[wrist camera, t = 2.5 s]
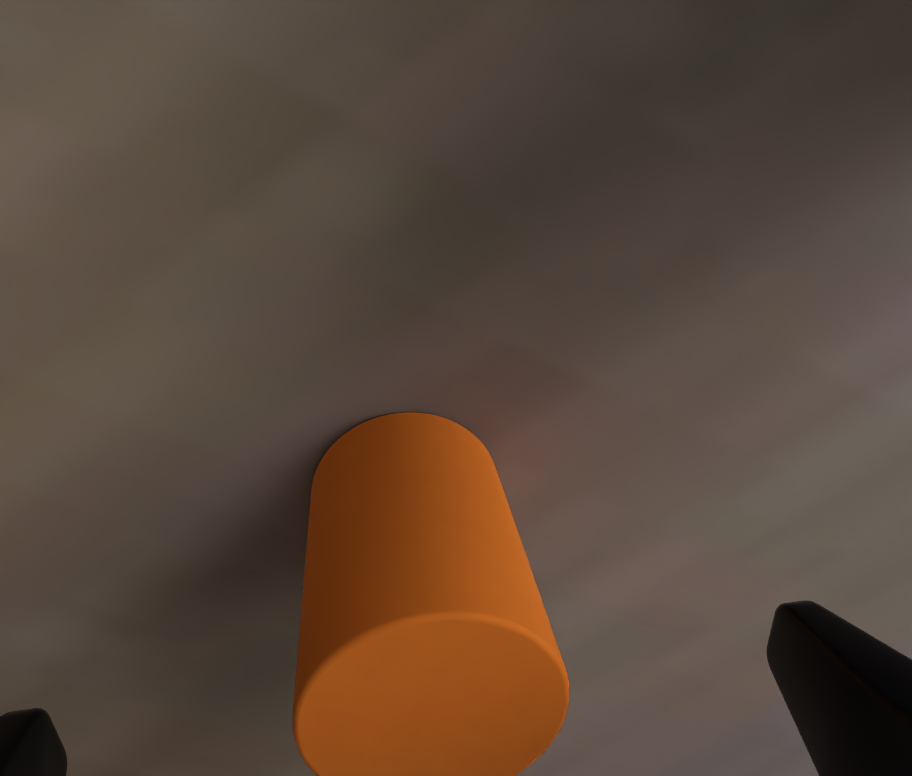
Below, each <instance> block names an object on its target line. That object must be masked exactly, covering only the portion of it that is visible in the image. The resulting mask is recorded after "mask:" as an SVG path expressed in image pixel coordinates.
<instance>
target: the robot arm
mask: <svg viewBox="0 0 912 776" xmlns="http://www.w3.org/2000/svg"><path fill="white" fill-rule="evenodd" d="M767 659H768V663H769V666H770V669H771V671H772V673H773V676H774V678H775V680H776V682H777V684H778V686H779V689H780V691H781V693H782V695H783V697H784V700H785V702H786V704H787V706H788V708H789V711H790V713H791V715H792V717H793V719H794V721H795V724H796V726H797V728H798V730H799V732H800V735H801V737H802V739H803V741H804V743H805V746H806V748H807V750H808V752H809V754H810V756H811V759H812V761H813V763H814V765H815V767H816V769H817V771H818V773H819V775H820V776H912V660H911V659H910V658H908V657H906V656H904V655H903V654H901V653H899V652H898V651H896V650H894V649H893V648H891V647H889V646H888V645H886V644H884V643H883V642H881V641H879V640H878V639H876V638H874V637H872V636H871V635H869V634H867V633H866V632H864V631H862V630H861V629H859V628H857V627H856V626H854V625H852V624H851V623H849V622H847V621H846V620H844V619H842V618H840V617H839V616H837V615H835V614H834V613H832V612H830V611H829V610H827V609H825V608H824V607H822V606H820V605H819V604H817V603H815V602H812V601H797V602H790V603H783V604H781V605H780V606H779V607H778V608H777V609H776V611H775V615H774V619H773V623H772V628H771V632H770V636H769V640H768V645H767ZM66 773H67V756H66V752H65V749H64V747H63V745H62V742H61V740H60V738H59V736H58V734H57V732H56V729H55V727H54V725H53V723H52V721H51V719H50V716H49V715H48V713H47V712H46V711H45V710H43V709H42V708H33V709H26V710H19V711H12V712H8V713H5V714H3V715H2V716H0V776H66Z"/></svg>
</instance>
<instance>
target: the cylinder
mask: <svg viewBox="0 0 912 776" xmlns="http://www.w3.org/2000/svg"><path fill="white" fill-rule="evenodd" d="M569 691H570V688H569V679H568V675H567V672H566V669H565V666H564V663H563V660H562V657H561V654H560V651H559V648H558V645H557V643H556V640H555V637H554V634H553V631H552V628H551V625H550V623H549V620H548V617H547V614H546V611H545V608H544V605H543V602H542V600H541V597H540V594H539V591H538V588H537V585H536V582H535V580H534V577H533V574H532V571H531V568H530V565H529V562H528V559H527V557H526V554H525V551H524V548H523V545H522V542H521V539H520V536H519V534H518V531H517V528H516V525H515V522H514V519H513V516H512V514H511V511H510V508H509V505H508V502H507V499H506V496H505V493H504V491H503V488H502V485H501V482H500V479H499V476H498V473H497V471H496V468H495V465H494V462H493V460H492V458H491V456H490V454H489V452H488V450H487V449H486V447H485V446H484V445H483V443H482V442H481V441H480V440H479V439H478V438H477V437H476V436H475V435H474V434H472V433H471V432H470V431H469V430H467V429H466V428H464V427H463V426H461V425H459V424H457V423H455V422H453V421H451V420H448V419H446V418H443V417H440V416H436V415H432V414H426V413H415V412H404V413H394V414H389V415H384V416H380V417H377V418H374V419H371V420H368V421H366V422H364V423H362V424H360V425H358V426H356V427H354V428H353V429H351V430H350V431H348V432H347V433H345V434H344V435H343V436H342V437H340V438H339V439H338V440H337V441H336V442H335V443H334V444H333V445H332V446H331V447H330V448H329V449H328V451H327V452H326V454H325V455H324V456H323V458H322V459H321V461H320V463H319V465H318V467H317V469H316V472H315V475H314V478H313V483H312V489H311V501H310V513H309V525H308V537H307V549H306V561H305V573H304V585H303V597H302V609H301V621H300V633H299V645H298V657H297V669H296V681H295V693H294V705H293V733H294V737H295V741H296V744H297V746H298V749H299V751H300V753H301V756H302V757H303V759H304V760H305V762H306V763H307V765H308V766H309V768H310V769H311V770H312V771H313V772H314V773H315V774H316V775H317V776H515V775H517V774H518V773H520V772H521V771H523V770H524V769H525V768H527V767H528V766H529V765H530V764H532V763H533V762H534V761H535V760H536V759H537V758H538V757H539V756H540V755H541V754H542V753H543V752H544V751H545V750H546V749H547V748H548V746H549V745H550V744H551V743H552V742H553V740H554V739H555V737H556V735H557V734H558V732H559V730H560V729H561V726H562V724H563V722H564V719H565V717H566V713H567V709H568V704H569Z"/></svg>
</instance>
